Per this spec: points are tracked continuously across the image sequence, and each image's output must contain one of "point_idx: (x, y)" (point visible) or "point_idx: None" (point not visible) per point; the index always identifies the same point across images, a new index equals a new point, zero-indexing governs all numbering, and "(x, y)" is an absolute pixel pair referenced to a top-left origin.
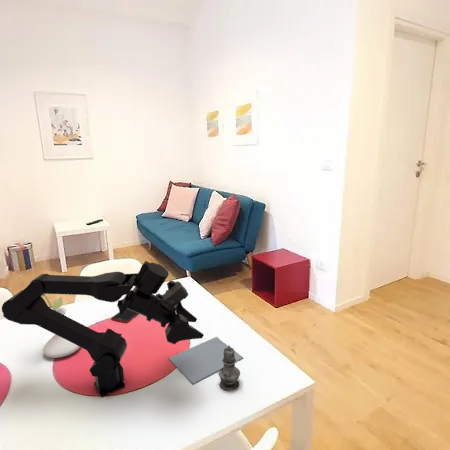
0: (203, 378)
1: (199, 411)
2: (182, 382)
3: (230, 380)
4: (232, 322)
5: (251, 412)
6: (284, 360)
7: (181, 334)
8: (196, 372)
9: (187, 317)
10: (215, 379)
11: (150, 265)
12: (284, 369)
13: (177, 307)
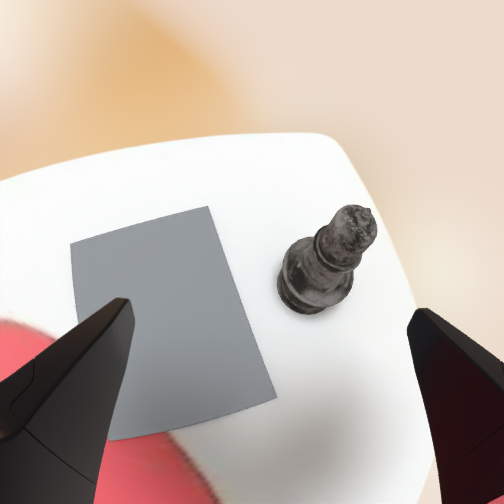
0: (261, 357)
1: (380, 390)
2: (252, 427)
3: (352, 278)
4: (43, 180)
5: (401, 268)
6: (256, 134)
7: None
8: (224, 373)
9: (100, 388)
10: (273, 320)
11: None
12: (287, 147)
13: (5, 501)
